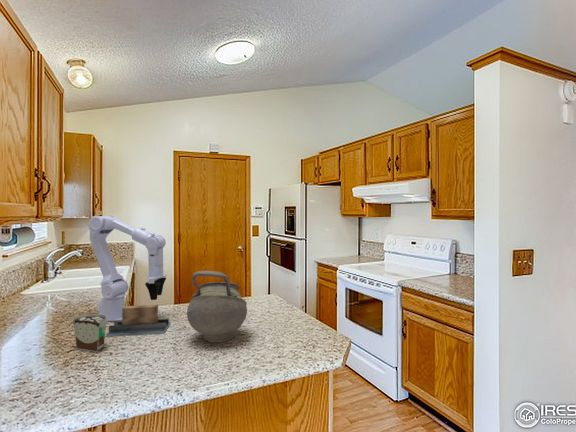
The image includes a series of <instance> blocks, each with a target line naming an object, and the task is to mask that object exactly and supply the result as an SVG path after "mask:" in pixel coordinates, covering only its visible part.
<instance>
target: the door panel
mask: <svg viewBox="0 0 576 432" xmlns="http://www.w3.org/2000/svg"><path fill="white" fill-rule="evenodd" d="M158 319H159V304H146V305H125V307H124V308H122V320H121V321H122V325H131V324H151V323H158Z"/></svg>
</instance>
